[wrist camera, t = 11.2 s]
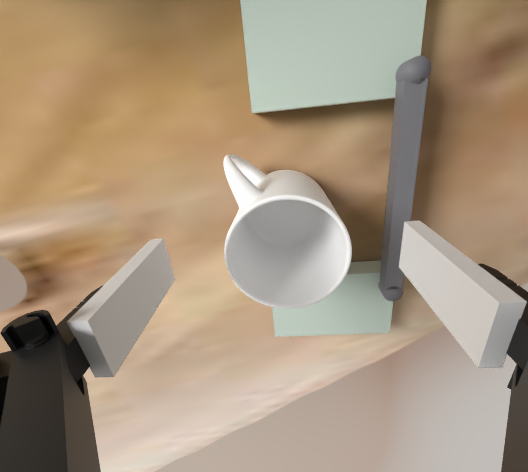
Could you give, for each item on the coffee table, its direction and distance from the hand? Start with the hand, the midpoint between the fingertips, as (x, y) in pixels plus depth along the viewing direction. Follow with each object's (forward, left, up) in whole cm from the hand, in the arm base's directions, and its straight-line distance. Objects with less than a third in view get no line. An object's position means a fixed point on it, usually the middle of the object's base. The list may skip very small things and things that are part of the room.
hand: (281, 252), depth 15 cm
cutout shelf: (0, +4, -13) cm, 14 cm away
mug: (0, -1, -14) cm, 14 cm away
